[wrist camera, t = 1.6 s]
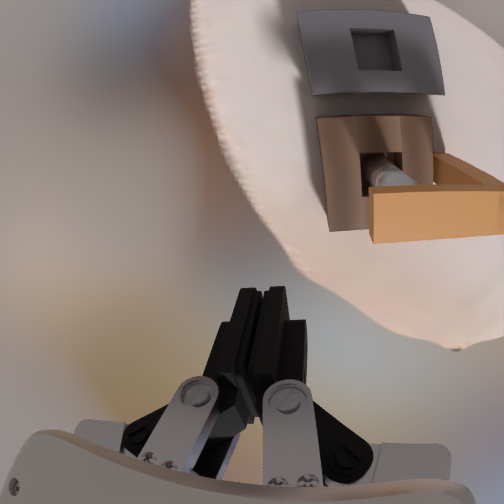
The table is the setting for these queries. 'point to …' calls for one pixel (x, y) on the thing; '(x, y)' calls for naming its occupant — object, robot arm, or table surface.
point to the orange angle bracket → (438, 205)
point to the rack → (370, 52)
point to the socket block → (358, 148)
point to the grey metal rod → (384, 172)
